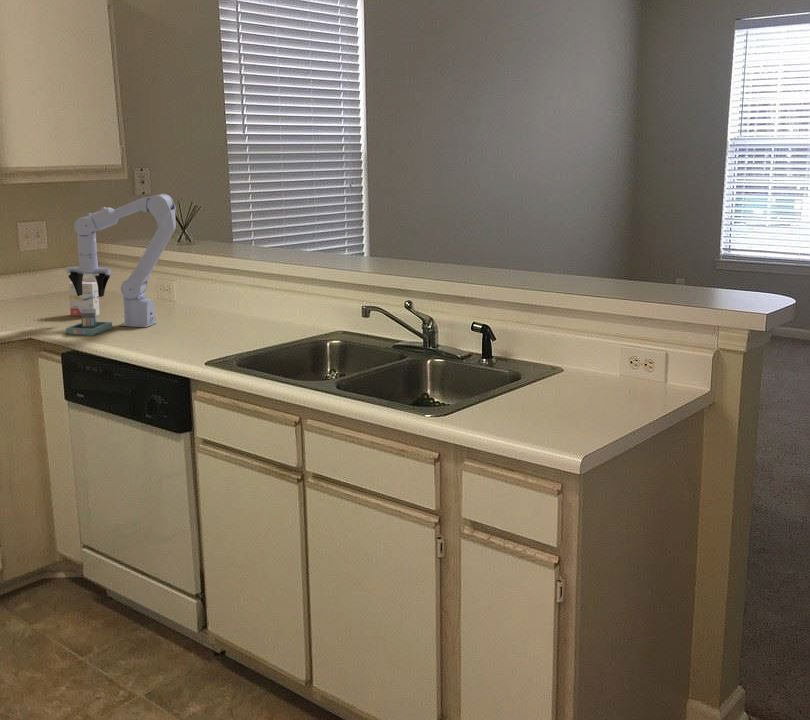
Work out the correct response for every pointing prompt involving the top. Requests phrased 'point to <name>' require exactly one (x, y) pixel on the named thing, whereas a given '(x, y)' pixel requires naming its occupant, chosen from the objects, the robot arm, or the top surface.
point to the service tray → (79, 330)
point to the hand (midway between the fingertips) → (90, 295)
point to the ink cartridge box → (84, 296)
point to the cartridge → (88, 318)
